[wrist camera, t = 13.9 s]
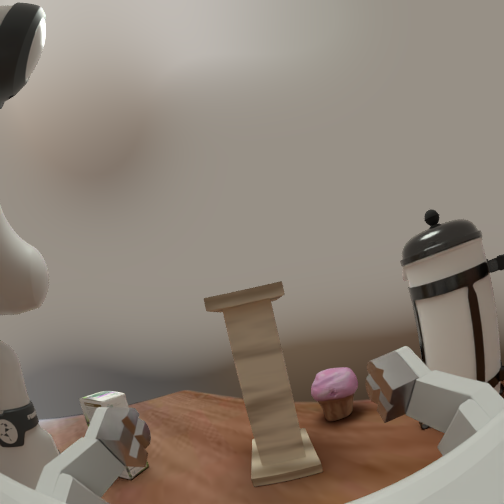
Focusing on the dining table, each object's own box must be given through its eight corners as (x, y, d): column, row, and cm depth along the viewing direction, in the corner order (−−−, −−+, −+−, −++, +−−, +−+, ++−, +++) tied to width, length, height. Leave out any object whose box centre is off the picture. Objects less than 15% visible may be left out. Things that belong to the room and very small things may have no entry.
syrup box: (125, 461, 32) (100, 390, 36) (151, 466, 31) (124, 391, 35) (106, 473, 27) (77, 397, 30) (132, 481, 26) (100, 399, 29)
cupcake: (317, 411, 46) (308, 368, 49) (358, 401, 45) (351, 357, 47) (316, 430, 38) (306, 381, 40) (365, 418, 36) (358, 368, 39)
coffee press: (427, 457, 19) (385, 208, 25) (413, 406, 33) (379, 235, 40) (538, 403, 12) (503, 169, 19) (498, 373, 27) (466, 206, 34)
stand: (322, 471, 25) (281, 281, 31) (253, 486, 24) (203, 298, 30) (306, 434, 37) (273, 291, 43) (254, 446, 37) (218, 303, 43)
